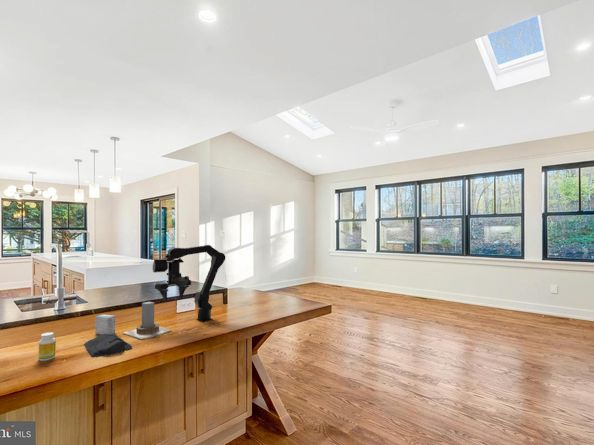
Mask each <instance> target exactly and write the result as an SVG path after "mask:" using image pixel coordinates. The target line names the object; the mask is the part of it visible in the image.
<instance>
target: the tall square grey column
mask: <svg viewBox="0 0 594 445" xmlns="http://www.w3.org/2000/svg"><path fill="white" fill-rule="evenodd" d="M154 323H155V302H153V301H146V302H142V303H141V325H142V328H151V327H154Z"/></svg>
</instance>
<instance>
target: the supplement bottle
mask: <svg viewBox="0 0 594 445" xmlns="http://www.w3.org/2000/svg"><path fill="white" fill-rule="evenodd" d="M54 336H55V333H54V332H44V333H42V334H41V335H40V340H38V356H37V359H38V361H42V362H45V361H50V360H52V359H54V358H55V357H56V348H57V347H56V342H57V341H56V338H55V337H54Z"/></svg>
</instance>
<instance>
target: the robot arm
mask: <svg viewBox="0 0 594 445" xmlns="http://www.w3.org/2000/svg"><path fill="white" fill-rule="evenodd" d="M203 253H206V254H207V255H208V256H210V258H211V260H210V268H209V270H208V272H207V275H206V278H205V280H204V283H203V285H202V287H201V290H200V291H196V293H195V296H194V299H193V300H194V301H193V302H194V304H195V305H196V306H197V308H198V310H197V318H196V319H195V320H196V321H198V322H199V321H200V322H203V323H205V322H208V321H211V320H213V318H212V317H211V312H212V308H213V305H212V304H211V303H210V291H211V288H212V286H213V283H214V281H215V279H216V277H217V274H218V271H219V269H220V267H221V266H222V265H223V264H224V262H225V260H226V255H225V254H224V252H220V251H218V250H217V249H215V248H214V247H213V246H212V245H210V244H205V245H200V246H190V247H170V248H169V249H168V250H167V254H166V255H165V257H164V258H163V259H160V258H159V259H158V258H155V259H153V263H152V272H153V273H164V272H165V273H166V276H167V280H166V282H156V283H155V284H154V289H155V290H157V291H158V292H159V293H160V294H161V296H162V300H164V302H165V303H167V302H168V291H169V289H168V288H169V287H170V288H171V287H175V286H176V287H178V294H179V299H180V300H182V299H183V296H184V294H185V291H186V289H188V288H189V287H190V286H191V285H192V280H191V279H190V277H189V276H188V275H185V276H182V272H180V267H181V266H180V264H181V263H184V260H182V258H183V257H185V256H188V255H189V256H190V255H195V254H203ZM166 271H167V272H166Z"/></svg>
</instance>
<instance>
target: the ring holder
mask: <svg viewBox="0 0 594 445" xmlns="http://www.w3.org/2000/svg"><path fill="white" fill-rule="evenodd" d="M170 332H173V330H172V329H169V328H167V327H163V326H160V325H159V323H156V322H154V327H151V328H142V324H139V325H137V326H136V328H134V329H131V330H127V331H124V332H123V331H122V334H123V335H126V336H128V337H131V338H134V339H137V340H138V341H139V340H140V341H143V340H146V339H150V338H152V337H156V336H160V335H164V334H166V333H170Z"/></svg>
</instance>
